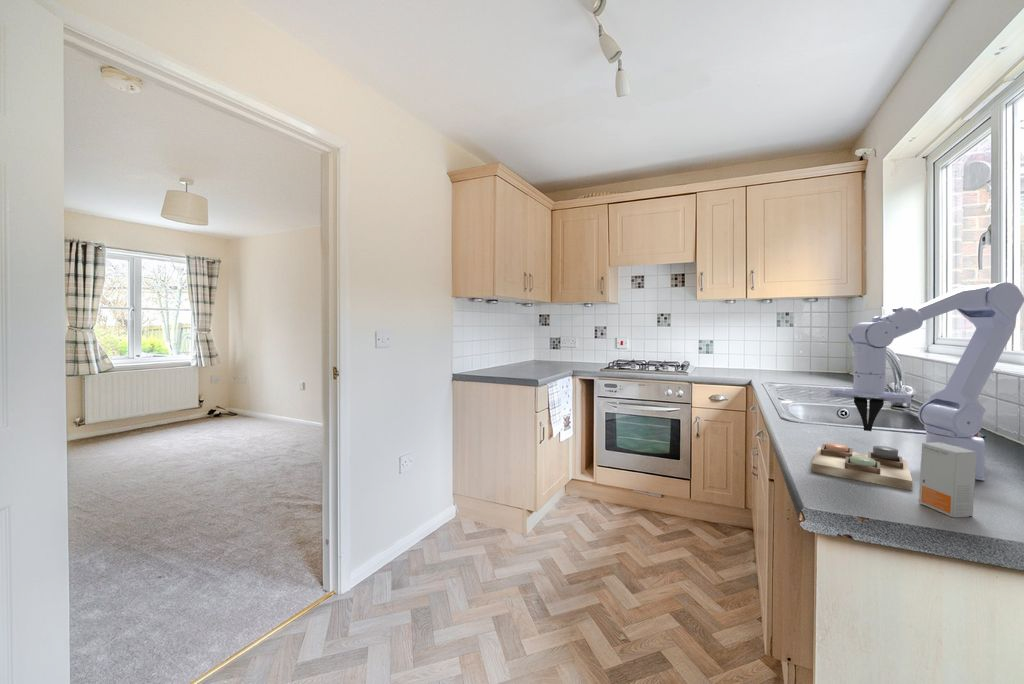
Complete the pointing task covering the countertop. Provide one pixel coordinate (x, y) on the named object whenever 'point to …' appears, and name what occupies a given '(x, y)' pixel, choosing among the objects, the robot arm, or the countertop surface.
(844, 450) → the terracotta button
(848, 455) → the button panel
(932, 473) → the skincare box
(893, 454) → the charcoal button
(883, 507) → the countertop surface
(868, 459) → the sage button
